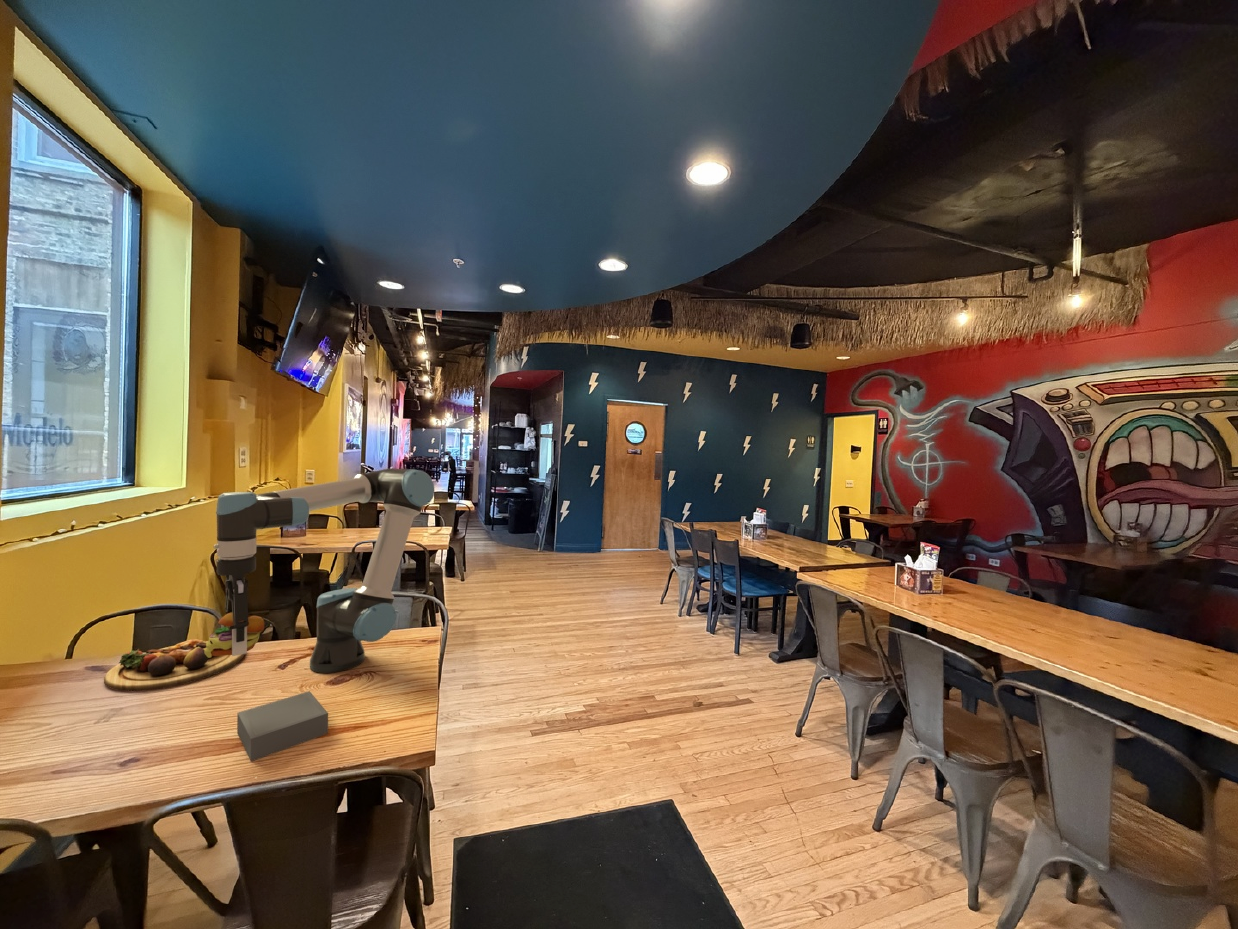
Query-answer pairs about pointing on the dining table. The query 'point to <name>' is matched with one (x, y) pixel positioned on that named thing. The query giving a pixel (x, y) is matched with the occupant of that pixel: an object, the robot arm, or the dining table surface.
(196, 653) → the wooden plate with food
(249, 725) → the tray
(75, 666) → the dining table surface
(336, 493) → the robot arm
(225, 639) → the cheeseburger
